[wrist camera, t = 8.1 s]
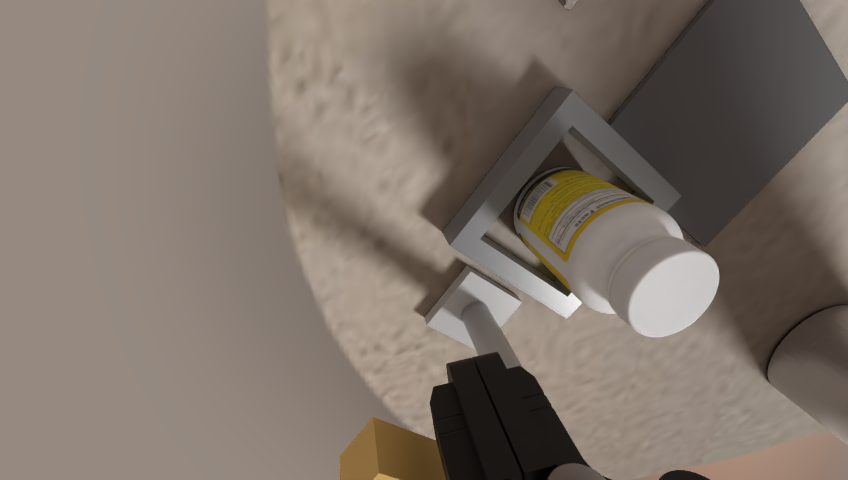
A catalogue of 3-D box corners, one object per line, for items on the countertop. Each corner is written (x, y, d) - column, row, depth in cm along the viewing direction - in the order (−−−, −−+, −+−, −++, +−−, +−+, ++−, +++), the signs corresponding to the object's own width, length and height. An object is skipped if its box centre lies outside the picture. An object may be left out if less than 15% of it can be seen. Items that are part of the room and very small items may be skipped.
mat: (848, 93, 25) (855, 93, 25) (700, 244, 28) (704, 247, 28) (757, -58, 20) (764, -59, 20) (590, 143, 23) (594, 145, 23)
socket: (659, 186, 25) (914, 298, 14) (503, 358, 29) (608, 555, 18) (555, 86, 22) (793, 134, 10) (389, 299, 25) (433, 504, 14)
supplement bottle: (593, 239, 26) (721, 336, 18) (512, 256, 26) (604, 366, 17) (598, 156, 24) (751, 221, 15) (509, 172, 23) (614, 251, 14)
